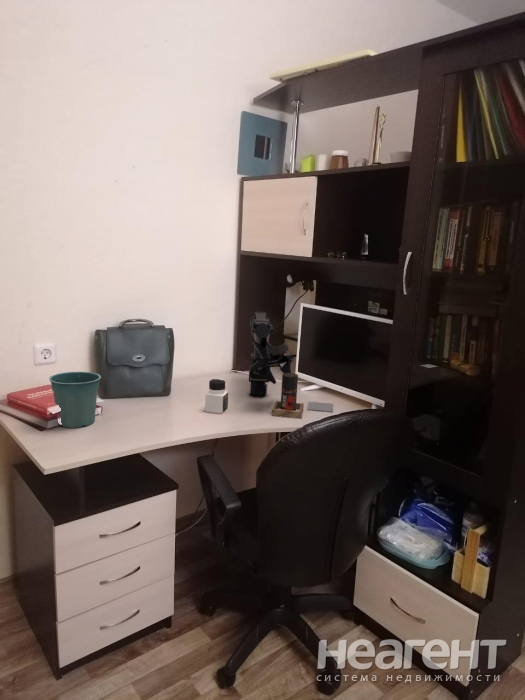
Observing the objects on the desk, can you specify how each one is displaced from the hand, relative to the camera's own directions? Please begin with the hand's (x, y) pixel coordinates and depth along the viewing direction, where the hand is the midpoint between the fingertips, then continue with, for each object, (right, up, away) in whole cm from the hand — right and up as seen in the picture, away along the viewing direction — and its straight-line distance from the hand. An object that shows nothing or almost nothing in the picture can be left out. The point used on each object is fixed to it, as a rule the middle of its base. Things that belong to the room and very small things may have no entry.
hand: (283, 381), depth 191 cm
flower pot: (-72, -13, -19) cm, 76 cm away
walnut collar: (+2, -12, +1) cm, 12 cm away
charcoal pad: (+15, -11, +8) cm, 21 cm away
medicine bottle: (-26, -11, 0) cm, 28 cm away
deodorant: (+2, -12, +1) cm, 12 cm away
